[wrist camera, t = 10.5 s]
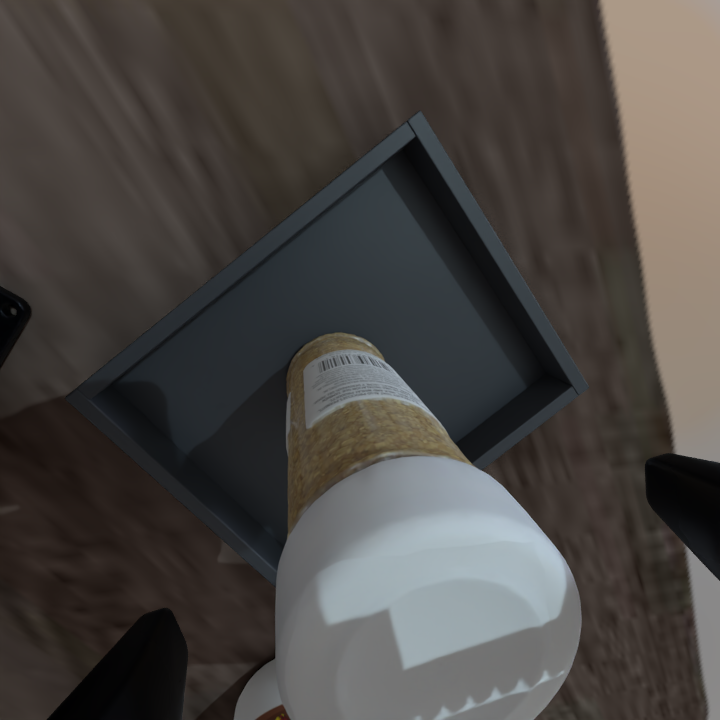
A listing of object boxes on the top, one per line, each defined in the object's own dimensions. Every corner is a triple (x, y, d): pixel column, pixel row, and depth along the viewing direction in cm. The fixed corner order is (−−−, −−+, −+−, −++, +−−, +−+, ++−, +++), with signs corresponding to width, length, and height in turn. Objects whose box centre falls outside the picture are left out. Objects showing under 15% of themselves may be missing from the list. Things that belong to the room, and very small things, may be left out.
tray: (299, 569, 21) (299, 610, 19) (94, 378, 17) (63, 398, 15) (555, 371, 21) (590, 387, 18) (402, 129, 17) (420, 109, 15)
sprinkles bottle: (272, 411, 18) (225, 780, 6) (307, 314, 18) (345, 484, 5) (367, 439, 20) (513, 806, 7) (405, 349, 19) (652, 566, 6)
